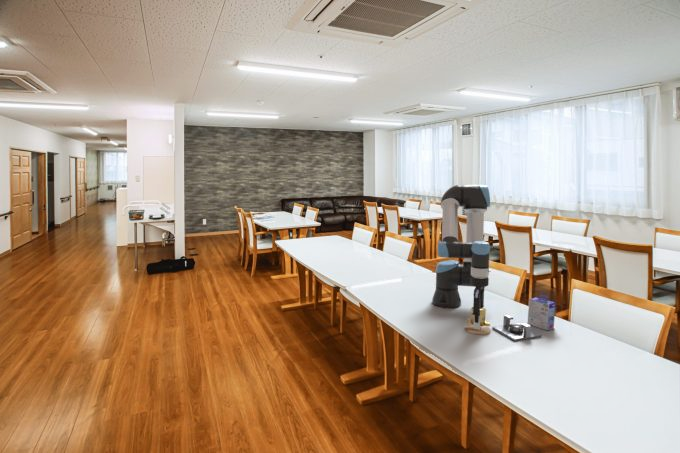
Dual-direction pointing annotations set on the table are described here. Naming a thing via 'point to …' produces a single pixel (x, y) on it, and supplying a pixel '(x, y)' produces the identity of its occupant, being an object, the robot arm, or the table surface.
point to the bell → (482, 317)
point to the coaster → (482, 331)
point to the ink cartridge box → (541, 313)
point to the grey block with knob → (516, 330)
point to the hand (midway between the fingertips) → (477, 326)
